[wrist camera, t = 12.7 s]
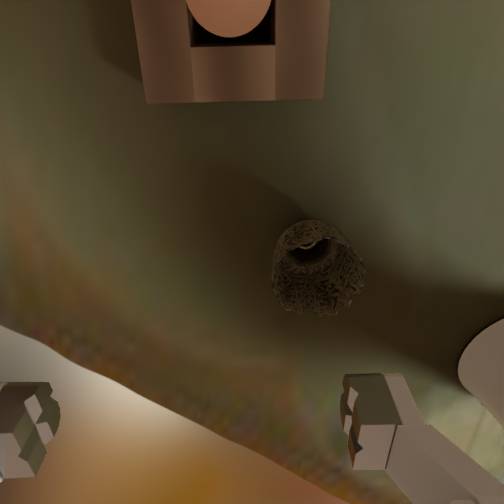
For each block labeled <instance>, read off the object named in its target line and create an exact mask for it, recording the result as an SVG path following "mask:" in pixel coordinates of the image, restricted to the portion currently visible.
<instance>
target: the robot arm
mask: <svg viewBox="0 0 504 504" xmlns="http://www.w3.org/2000/svg"><path fill="white" fill-rule="evenodd" d="M458 376H459V379H460V382H461V384H462V385H463V386H464V387H465V388H466V389H467V390H468V391H469V392H470V393H471V394H472V395H473V396H475V397H476V398H477V399H478V400H479V401H480V402H481V403H482V404H483V405H484V407H485V408H486V409H487V410H488V411H489V412H490V413H491V414H492V415H493V416H494V418H495V419H496V420H497V421H498V422H499V424H500V425H501V426H502V427H503V428H504V319H502V320H500V321H498V322H496V323H494V324H492V325H491V326H489V327H488V328H486V329H485V330H483V331H482V332H481V333H480V334H478V335H477V336H476V337H475V338H474V339H473V340H472V341H471V342H470V344H469V345H468V346H467V347H466V349H465V350H464V352H463V354H462V356H461V358H460V361H459V365H458ZM343 388H344V393H343V394H342V395H341V400H340V412H341V420H342V425H343V429H344V431H345V432H346V433H347V434H348V435H349V437H348V444H347V447H348V451H349V455H350V459H351V463H352V467H353V470H386V471H385V472H386V473H387V474H388V475H389V476H390V477H391V479H392V480H393V481H394V482H395V483H396V485H397V486H398V487H399V488H400V489H401V490H402V492H403V493H404V494H405V495H406V496H407V498H408V499H409V500H410V501H411V502H412V503H413V504H504V485H503V484H502V483H501V482H499V481H498V480H497V479H496V478H495V477H493V476H492V475H491V474H490V473H489V472H487V471H486V470H485V469H484V468H482V467H481V466H480V465H479V464H478V463H476V462H475V461H474V460H473V459H471V458H470V457H469V456H468V455H467V454H465V453H464V452H463V451H462V450H461V449H459V448H458V447H457V446H456V445H454V444H453V443H452V442H451V441H450V440H448V439H447V438H446V437H445V436H443V435H442V434H441V433H440V432H439V431H437V430H436V429H435V428H434V427H433V426H431V425H425V424H424V422H423V420H422V418H421V415H420V413H419V411H418V409H417V406H416V404H415V402H414V400H413V397H412V395H411V393H410V391H409V388H408V386H407V384H406V382H405V379H404V377H403V375H402V374H401V373H381V374H380V373H369V374H345V375H344V377H343ZM52 391H53V390H52V388H51V386H50V384H49V383H48V382H0V483H1V482H2V481H3V480H2V479H4V478H23V477H36V474H37V472H38V470H39V468H40V466H41V464H42V462H43V460H44V457H45V455H46V453H47V452H46V448H45V444H46V443H47V442H49V441H50V440H51V439H52V438H53V437H54V436H55V434H56V431H57V429H58V426H59V420H60V407H59V405H58V402H57V401H55V400H54V399H52V398H51V397H50V395H51V393H52Z"/></svg>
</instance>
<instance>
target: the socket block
mask: <svg viewBox="0 0 504 504" xmlns="http://www.w3.org/2000/svg"><path fill="white" fill-rule="evenodd" d="M131 5H132V12H133V19H134V26H135V32H136V39H137V46H138V52H139V59H140V66H141V73H142V79H143V86H144V93H145V99H146V104H156V103H195V102H234V101H272V100H311V99H324V90H325V75H326V60H327V45H328V30H329V15H330V0H271V42H238V43H198V38H197V25H196V19H195V18H194V16H193V15H192V13H191V11H190V9H189V8H188V5H187V2H186V0H131Z"/></svg>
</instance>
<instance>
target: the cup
mask: <svg viewBox="0 0 504 504" xmlns="http://www.w3.org/2000/svg"><path fill="white" fill-rule="evenodd" d="M363 273H364V274H365V273H367V272H366V268H365V266H364V265H363V263H362V258H361V256H360V255H359V253H358V252H356V250H355V249H354V248H353V246H352V245H351V244H350V242H349V241H348V240H347V239H346V237H345V236H344V235H343V234H342V233H341V232H340V231H339V230H338V229H337V228H336V227H334V226H333V225H331V224H329V223H327V222H324V221H321V220H315V219H309V220H303V221H299V222H297V223H295V224H293V225H291V226H290V227H288V228H287V229H286V230H285V231H284V232H283V233H282V234H281V236H280V237H279V239H278V241H277V243H276V246H275V250H274V255H273V263H272V273H271V284H272V290H273V295H274V296H277V298H278V301H279V303H280V305H281V306H282V308H283V309H284V310H289V311H293V313H294V314H295V315H297V316H301V314H302V310H306V311H307V312H311V311H314V312H315V313H316V314H317V316H318V317H320V318H322V317H323V315H324V313H326V314H328V315H330V316H335V315H337V314H338V312H339V311H340V308H341V306H342V305H343V304H344V305H346V306H348V307H350V306H351V302H352V299H351V294H352V295H354V296H355V295H356V296H359V295H360V294H361V287H363V286H365V278H364V275H363Z"/></svg>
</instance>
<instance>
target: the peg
mask: <svg viewBox="0 0 504 504" xmlns="http://www.w3.org/2000/svg"><path fill="white" fill-rule="evenodd" d="M186 2H187V5H188V8H189V9H190V11H191V13H192V15H193V16H194V18H195V19H196V20H197V22H198V23H199V24H200V25H201V26H202V27H203V28H205V29H206V30H208V31H209V32H211V33H213V34H215V35H218V36H222V37H237V36H241V35H243V34H246V33H248V32H249V31H251V30H252V29H254V28H255V27H256V26H257V25H258V24H259V23H260V22H261V21H262V19H263V18H264V16H265V14H266V13H267V11H268V8H269V6H270V3H271V0H186Z"/></svg>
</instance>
